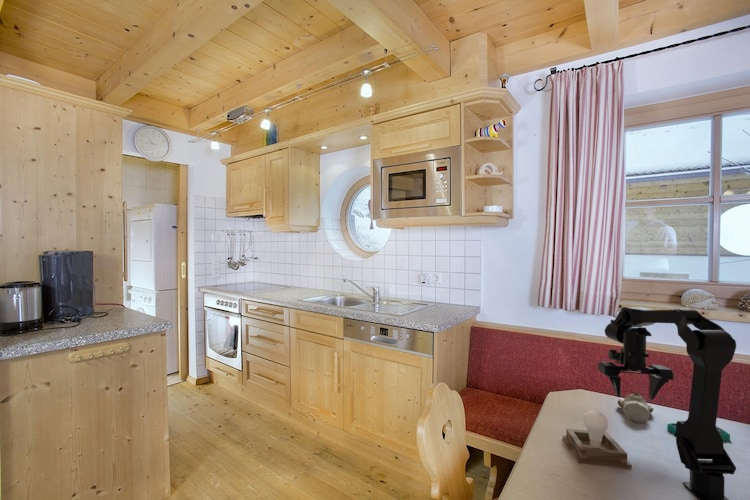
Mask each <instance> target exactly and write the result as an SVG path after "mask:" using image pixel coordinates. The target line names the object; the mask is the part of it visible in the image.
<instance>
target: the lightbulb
mask: <svg viewBox="0 0 750 500" xmlns="http://www.w3.org/2000/svg"><path fill="white" fill-rule="evenodd" d="M582 419H583V424H584V426H585V428H586V431H588V432H589V439H590V445H591V447H592V448H601V442H602V437H603V434H604V433H605V432H606V431H607V430H608V427H609V421H608V418H607V417H606V416H605V415H604V414H603V413H602V412H600V411H598V410H595V409H591V410H588V411H586V412H585V413H584V415H583V417H582Z"/></svg>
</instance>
